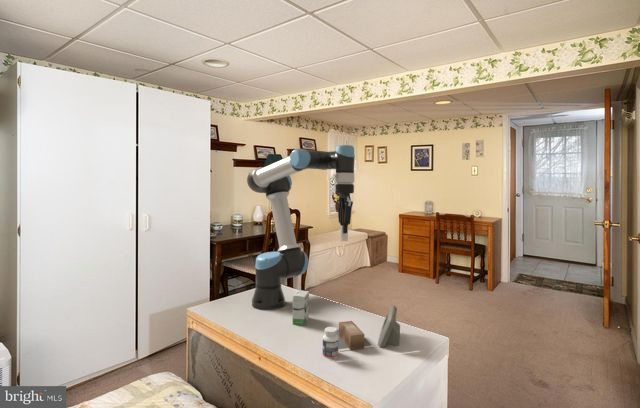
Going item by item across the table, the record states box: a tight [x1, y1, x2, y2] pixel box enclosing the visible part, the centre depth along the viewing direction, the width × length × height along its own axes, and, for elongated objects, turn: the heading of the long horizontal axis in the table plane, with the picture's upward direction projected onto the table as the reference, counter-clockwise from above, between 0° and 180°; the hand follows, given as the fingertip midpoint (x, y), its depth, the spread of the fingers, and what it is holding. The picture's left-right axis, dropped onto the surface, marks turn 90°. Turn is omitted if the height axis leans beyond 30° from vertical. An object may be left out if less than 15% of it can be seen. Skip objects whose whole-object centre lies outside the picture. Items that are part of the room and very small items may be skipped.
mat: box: [337, 329, 374, 352], centre depth 129 cm, size 17×12×1 cm
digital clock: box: [377, 304, 401, 349], centre depth 129 cm, size 16×9×11 cm, turn 153°
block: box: [338, 320, 365, 351], centre depth 127 cm, size 5×5×12 cm
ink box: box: [292, 289, 310, 326], centre depth 145 cm, size 9×5×12 cm, turn 168°
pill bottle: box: [322, 326, 340, 359], centre depth 117 cm, size 5×5×9 cm
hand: (344, 240), depth 148 cm, fingers closed
